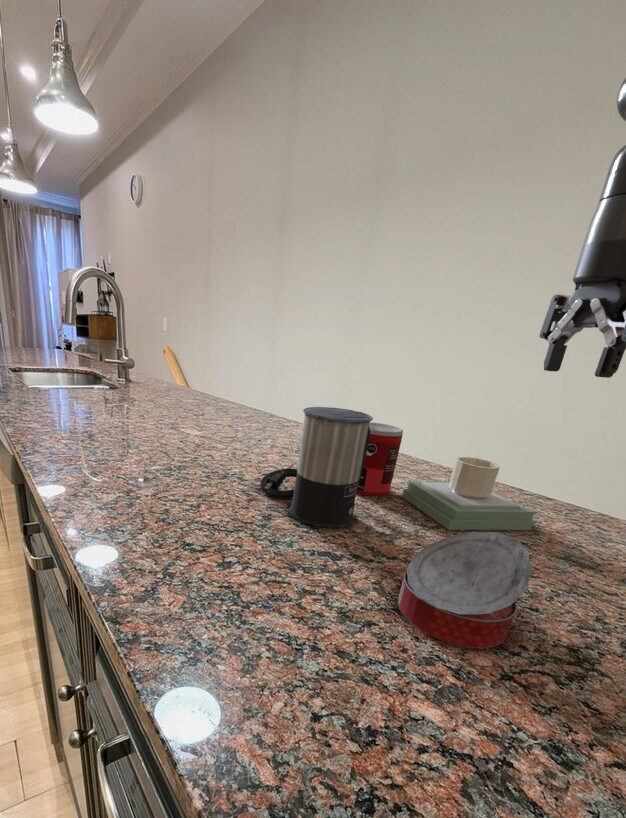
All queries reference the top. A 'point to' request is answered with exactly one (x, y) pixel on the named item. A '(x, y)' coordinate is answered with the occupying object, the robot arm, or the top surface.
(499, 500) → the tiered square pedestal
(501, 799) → the top surface
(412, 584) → the canned food
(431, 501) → the scale
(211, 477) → the top surface
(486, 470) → the beige short cylinder
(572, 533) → the top surface
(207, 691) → the top surface
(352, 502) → the milk frother
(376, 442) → the canned food
